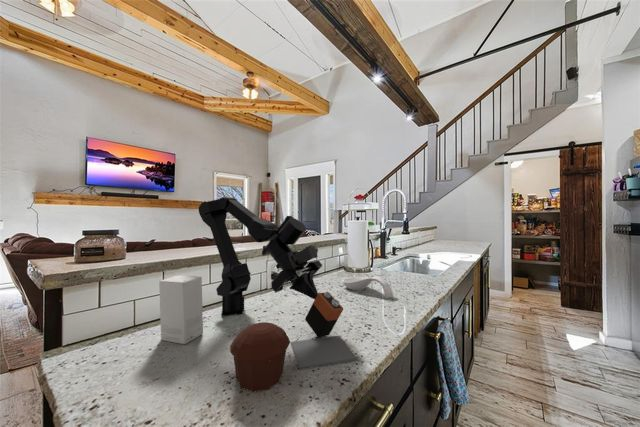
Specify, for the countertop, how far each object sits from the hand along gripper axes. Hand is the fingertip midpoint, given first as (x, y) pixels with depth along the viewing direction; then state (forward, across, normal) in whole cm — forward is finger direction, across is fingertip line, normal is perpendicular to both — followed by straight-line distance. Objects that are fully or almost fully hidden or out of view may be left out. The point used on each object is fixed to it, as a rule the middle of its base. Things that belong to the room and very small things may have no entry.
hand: (317, 298), depth 69 cm
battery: (+5, -1, +6) cm, 8 cm away
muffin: (+6, -21, +8) cm, 24 cm away
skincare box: (-15, -19, +28) cm, 37 cm away
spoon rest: (+6, +44, +8) cm, 45 cm away
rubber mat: (+10, -7, +4) cm, 13 cm away
